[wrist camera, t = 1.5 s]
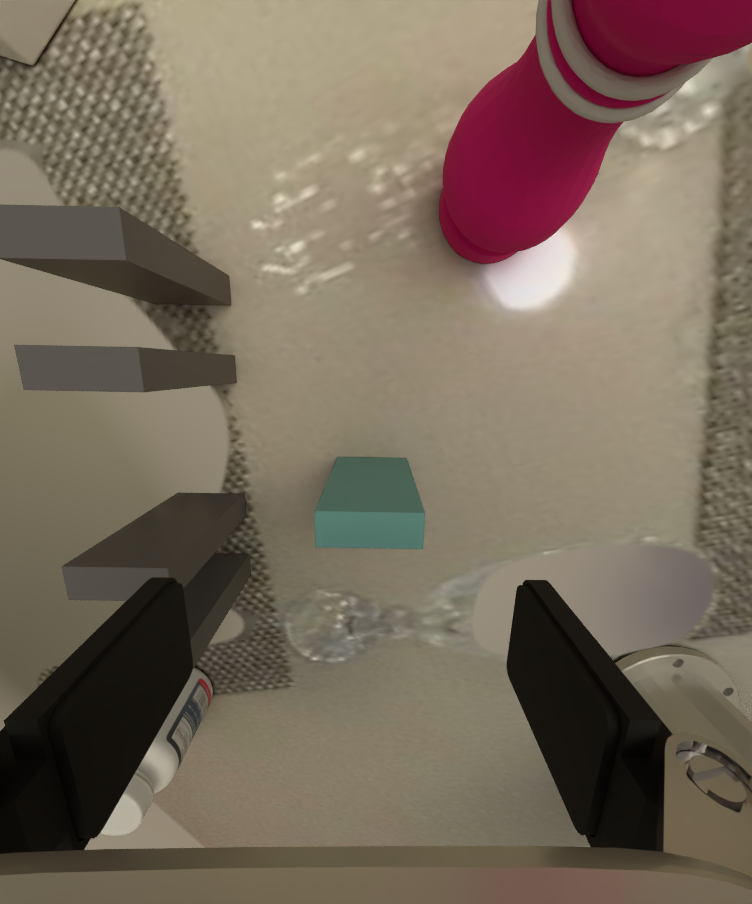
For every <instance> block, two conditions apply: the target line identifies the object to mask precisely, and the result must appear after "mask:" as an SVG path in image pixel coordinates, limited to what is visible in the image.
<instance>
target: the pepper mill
mask: <svg viewBox="0 0 752 904" xmlns="http://www.w3.org/2000/svg"><path fill="white" fill-rule="evenodd" d="M750 43H752V0H539V2H538V8H537V14H536V35H535V36H534V38H533V40H532V41H531V43H530V45H529V47H528V48H527V50H526V52H525V53H524V54H523V56H522V57H521V58H520V59H519V60H518V62H516V63H514V64H513V65H511V66H510V67H508V68H507V69H505V70H504V71H502V72H501V73H500V74H498V75H497V76H496V77H494V78H493V79H492V80H491V81H489V82H488V83H487V84H486V85H485V87H484V88H483V89H482V90H481V91H480V92H479V93H478V94H477V96H476V97H475V98H474V99H473V100H472V101H471V103H470V104H469V105H468V107H467V108H466V110H465V111H464V113H463V114H462V116H461V118H460V120H459V123H458V125H457V127H456V129H455V131H454V133H453V136H452V138H451V140H450V142H449V145H448V149H447V152H446V156H445V161H444V167H443V190H442V193H441V197H440V204H439V218H440V224H441V227H442V231H443V233H444V235H445V238H446V239H447V241H448V242H449V244H450V246H451V247H452V248H453V249H454V250H455V251H456V252H457V253H458V254H459V255H461V256H462V257H464V258H466V259H468V260H471V261H473V262H477V263H495V262H499V261H502V260H504V259H507V258H509V257H510V256H512V255H514V254H515V253H516V252H518V251H523V250H526V249H529V248H531V247H534V246H536V245H538V244H540V243H542V242H543V241H545V240H547V239H548V238H549V237H550V236H552V235H553V234H554V233H555V232H556V231H557V230H558V229H559V228H561V227H562V226H563V225H564V224H565V223H566V222H567V221H568V220H569V219H570V218H571V217H572V216H573V214H574V213H575V212H576V210H577V209H578V208H579V206H580V205H581V204H582V202H583V200H584V199H585V197H586V195H587V194H588V192H589V190H590V189H591V187H592V185H593V183H594V181H595V179H596V177H597V175H598V172H599V169H600V166H601V164H602V161H603V158H604V155H605V152H606V150H607V147H608V145H609V143H610V141H611V139H612V137H613V136H614V134H615V132H616V131H617V129H618V128H619V127H620V125H621V124H622V123H623V122H624V121H629V120H633V119H636V118H639V117H641V116H644V115H646V114H648V113H650V112H652V111H653V110H655V109H656V108H658V107H659V106H661V105H662V104H663V103H665V102H666V101H667V100H669V99H670V98H671V97H672V96H673V95H674V94H675V93H676V92H677V91H678V90H679V89H680V88H681V87H682V86H683V85H684V83H685V82H686V81H688V80H689V79H690V78H692V77H693V76H694V75H696V74H697V73H699V72H700V71H701V70H702V69H703V68H704V67H705V66H706V65H707V64H708V63H709V61H710V60H711V59H712V58H714V57H717V56H721V55H724V54H728V53H730V52H733V51H735V50H737V49H739V48H742V47H744V46H746V45H748V44H750Z"/></svg>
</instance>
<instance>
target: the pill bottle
mask: <svg viewBox="0 0 752 904" xmlns="http://www.w3.org/2000/svg"><path fill="white" fill-rule="evenodd" d="M212 695H213V689H212V685H211V682H210V680H209V679H208V677H207V676H206V675H205V674H204V673H203V672H201V671H200V670H198V669H196V668H194V669H193V671H192V673H191V676H190V678H189V680H188V682H187V683H186V685H185V687H184V689H183V690H182V692H181V694H180V696H179V697H178V699H177V701H176V703H175V704H174V706H173V708H172V710H171V711H170V713H169V715H168V716H167V718H166V720H165V722H164V723H163V725H162V727H161V729H160V730H159V732H158V734H157V736H156V737H155V739H154V741H153V743H152V744H151V746H150V748H149V750H148V751H147V753H146V755H145V757H144V758H143V760H142V762H141V764H140V765H139V767H138V769H137V771H136V772H135V774H134V776H133V778H132V779H131V781H130V783H129V784H128V786H127V788H126V790H125V791H124V793H123V795H122V797H121V798H120V800H119V802H118V804H117V805H116V807H115V809H114V811H113V812H112V814H111V816H110V818H109V819H108V821H107V823H106V825H105V826H104V828H103V829H102V831H101V832H100V833H102V834H105V835H114V836H116V835H117V836H118V835H124V834H128V833H130V832H132V831H134V830H135V829H136V828H137V827H138V826H139V825H140V823H141V822H142V820H143V818H144V816H145V814H146V812H147V810H148V808H149V807H150V805H151V803H152V800H153V797H154V794H155V793H157V792H159V791H161V790H162V789H163V788H165V787H166V786H167V785H168V784H169V783H170V781H171V780H172V779H173V777H174V775H175V773H176V772H177V770H178V768H179V766H180V764H181V762H182V759H183V757H184V755H185V753H186V751H187V749H188V747H189V745H190V743H191V741H192V739H193V737H194V735H195V733H196V730H197V728H198V726H199V724H200V722H201V720H202V718H203V716H204V714H205V712H206V710H207V708H208V706H209V704H210V702H211V699H212Z"/></svg>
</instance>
